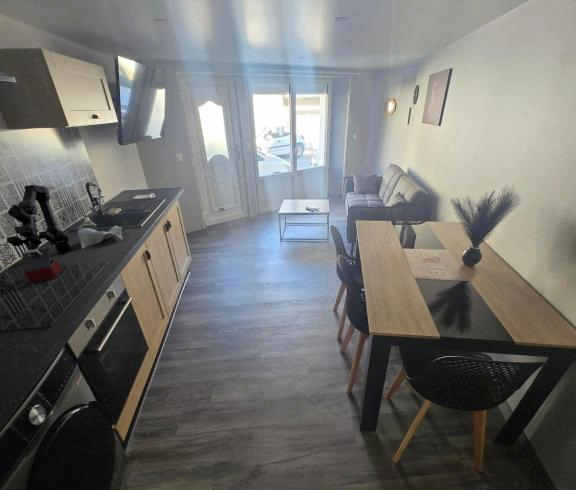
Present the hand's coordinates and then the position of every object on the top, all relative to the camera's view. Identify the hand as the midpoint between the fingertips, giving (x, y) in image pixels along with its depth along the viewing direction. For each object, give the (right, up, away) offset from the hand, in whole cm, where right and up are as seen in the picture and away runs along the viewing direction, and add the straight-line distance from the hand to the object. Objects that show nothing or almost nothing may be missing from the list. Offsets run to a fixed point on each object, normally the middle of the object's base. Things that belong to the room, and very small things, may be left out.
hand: (32, 253), depth 153 cm
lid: (0, -3, +2) cm, 4 cm away
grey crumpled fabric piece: (+8, +16, +47) cm, 50 cm away
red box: (+1, -11, +8) cm, 13 cm away
